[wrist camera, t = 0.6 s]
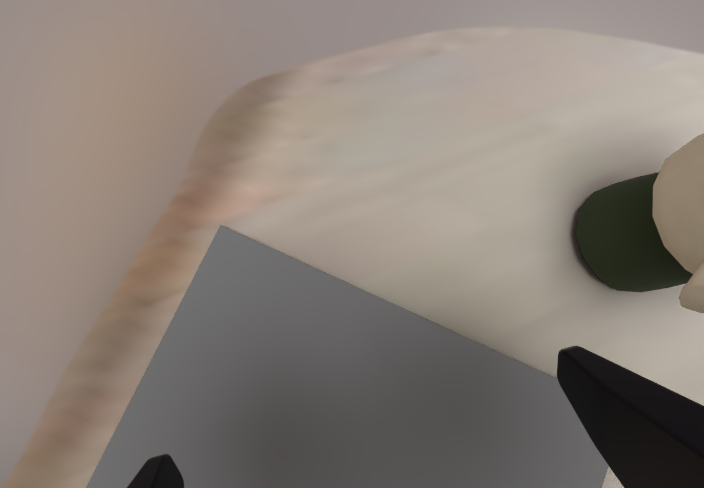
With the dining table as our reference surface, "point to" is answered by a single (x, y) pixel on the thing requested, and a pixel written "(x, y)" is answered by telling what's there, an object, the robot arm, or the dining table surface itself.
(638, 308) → the dining table surface
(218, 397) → the placemat
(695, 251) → the character mug
